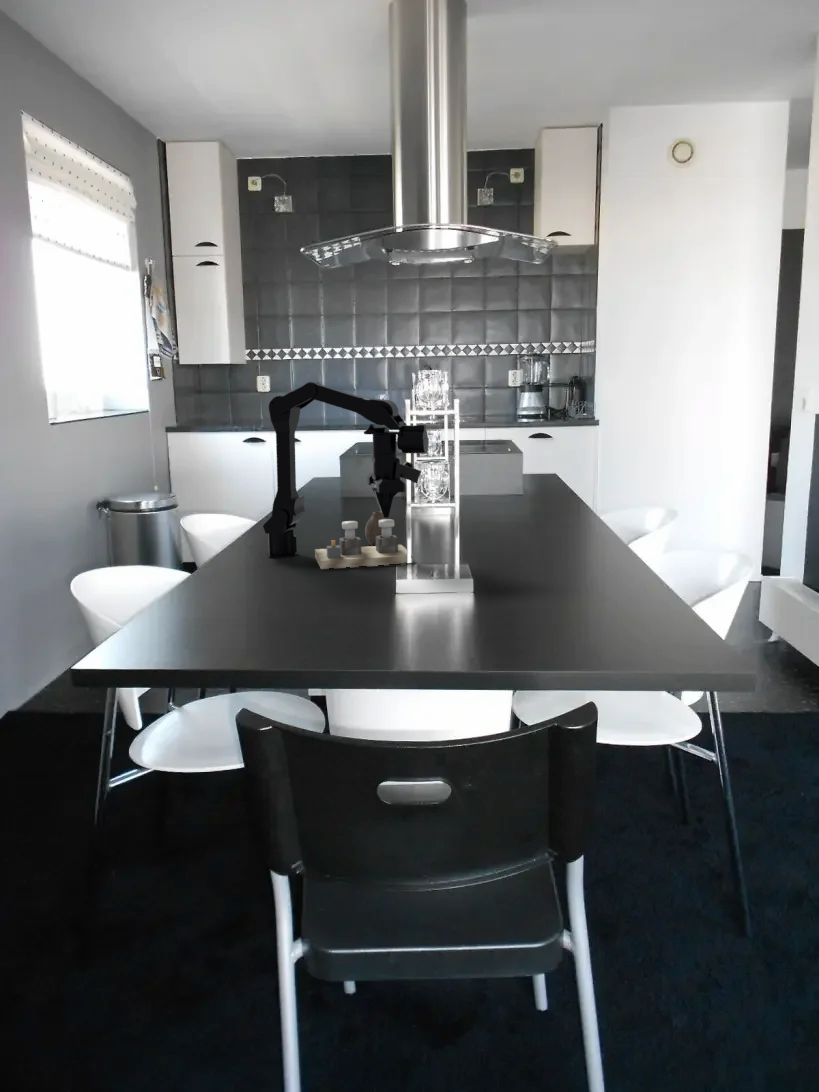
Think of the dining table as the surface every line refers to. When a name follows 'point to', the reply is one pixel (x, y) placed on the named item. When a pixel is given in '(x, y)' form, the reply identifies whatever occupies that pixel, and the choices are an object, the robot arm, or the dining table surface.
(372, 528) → the vase
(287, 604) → the dining table surface
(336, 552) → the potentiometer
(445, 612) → the dining table surface
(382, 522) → the knob
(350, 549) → the mount board
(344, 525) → the knob
